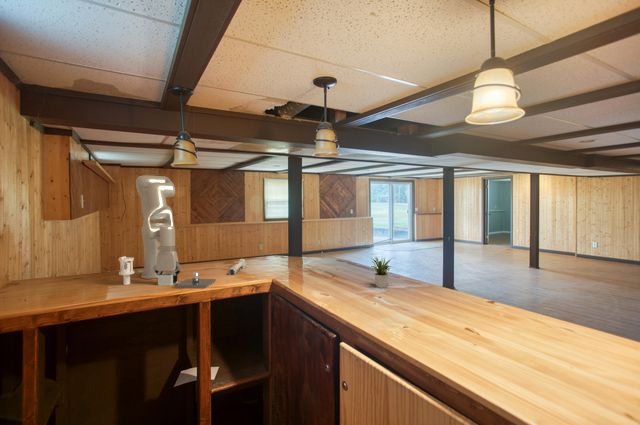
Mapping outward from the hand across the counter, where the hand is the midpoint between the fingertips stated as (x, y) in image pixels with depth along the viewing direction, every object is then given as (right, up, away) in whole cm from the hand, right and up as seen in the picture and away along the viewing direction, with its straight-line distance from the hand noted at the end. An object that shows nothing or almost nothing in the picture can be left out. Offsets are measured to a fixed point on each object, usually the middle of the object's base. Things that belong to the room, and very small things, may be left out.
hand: (168, 282), depth 169 cm
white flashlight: (+29, -1, +33) cm, 44 cm away
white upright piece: (-22, -1, 0) cm, 22 cm away
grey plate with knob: (+16, -1, -3) cm, 16 cm away
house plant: (+111, 0, -9) cm, 111 cm away
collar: (0, -1, 0) cm, 1 cm away
